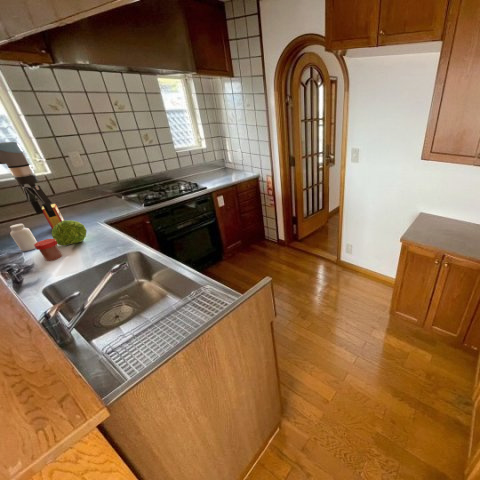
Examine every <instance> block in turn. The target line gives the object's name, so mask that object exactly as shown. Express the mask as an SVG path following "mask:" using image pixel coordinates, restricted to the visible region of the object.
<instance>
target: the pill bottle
mask: <svg viewBox="0 0 480 480" xmlns="http://www.w3.org/2000/svg"><path fill="white" fill-rule="evenodd" d="M9 228H10V230H11V231H10V233H9V234H10V237H11V238H12V239H13V241H14V242H15V244H16V245H17V247H18V248H19V250H20V251H21V252H27V251H32V250H34V249H36V248H35V246H34V244H35V243H37V242H38V241H37V239H36V237H35V235H34V234H33V233H32V231H31V230H30V228H29V227H25V225H24V224H23V223H16V224H12V225H10V226H9Z"/></svg>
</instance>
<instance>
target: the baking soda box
mask: <svg viewBox="0 0 480 480" xmlns="http://www.w3.org/2000/svg"><path fill="white" fill-rule="evenodd" d="M50 205H51V207H52V209H53V210H54V212H55V214H56V216H54V217H49V216H48V214H47V212H46V211H45V209H44V207H43V206H41V208H42V210H43V213H42V214H43V216H44V217H45V219H46V221H47V223H48V224H49V227H50V228H51V230H52V229H53V227H54V226H55V225H57V224H58V223H60V222H62V221H63V220H65V219H64V217H63V215H62V212H61V210H60V209H59V207H58V206H57V204H56V203H51V204H50Z"/></svg>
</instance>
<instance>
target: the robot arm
mask: <svg viewBox="0 0 480 480" xmlns="http://www.w3.org/2000/svg"><path fill="white" fill-rule="evenodd" d="M0 165H6V167H7V168H8V170H9V172H10V173H11V175H12V176H13V177H14V180H15V182H16V184H18V186H19V185H20V186H21V188H22V191H23V194H24V197H25V200H26V201H28V202H29V203H30V205H31V207H32V208H33V210H34V212H35V213H36V215H40V214H43V210H42V207H44V209H45V211H46V212H47V214H48V216H49V217H54V216H56V214H55V212H54V210H53V209H52V207H51V204H52V201H51V200H50V198H49V197H48V196H47V194H46V193H45V192H44V191H43V189H42V188H41V185H39V184H36V183H38V182H39V179H38V177H37V175H36V174H35V172H34V170H33V168H34V167H33V166H31V164H30V162H29V161H28V159H27V156H26V155H25V153H24V150H23V149H22V148H21V146H20V144H19V143H18V142H16V141H6V142H5V141H4V142H0ZM40 203H41V204H40Z"/></svg>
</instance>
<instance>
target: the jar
mask: <svg viewBox="0 0 480 480" xmlns="http://www.w3.org/2000/svg"><path fill="white" fill-rule="evenodd" d="M38 251H39V252H40V254H41V255H42V257H43V259H44V261H46V262H52V261H56V260H59V259H61V258H63V256H64V255H63V253H62V251H61V250H60V248H59V245H58V244H57V245H55V246H53V247H51V248H48V249H43V250H38Z"/></svg>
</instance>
